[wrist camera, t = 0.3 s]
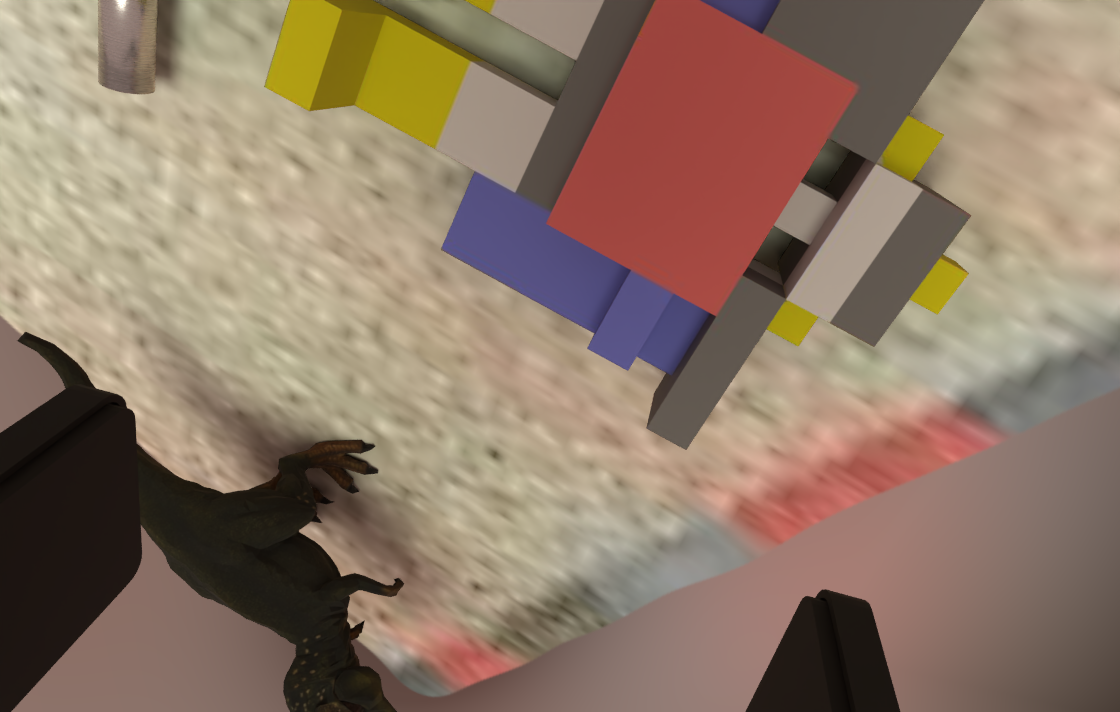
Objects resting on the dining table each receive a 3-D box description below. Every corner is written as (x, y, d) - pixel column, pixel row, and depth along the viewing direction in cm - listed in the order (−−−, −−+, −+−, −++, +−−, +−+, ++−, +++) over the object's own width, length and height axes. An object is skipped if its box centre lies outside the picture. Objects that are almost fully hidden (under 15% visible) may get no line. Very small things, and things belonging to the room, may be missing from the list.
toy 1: (408, 617, 55) (316, 826, 41) (84, 325, 48) (-150, 463, 34) (497, 563, 51) (429, 771, 38) (162, 239, 44) (-65, 355, 31)
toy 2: (435, -488, 25) (1271, -39, 24) (506, -357, 33) (1140, -16, 32) (224, 221, 35) (809, 540, 35) (316, 191, 43) (795, 452, 43)
